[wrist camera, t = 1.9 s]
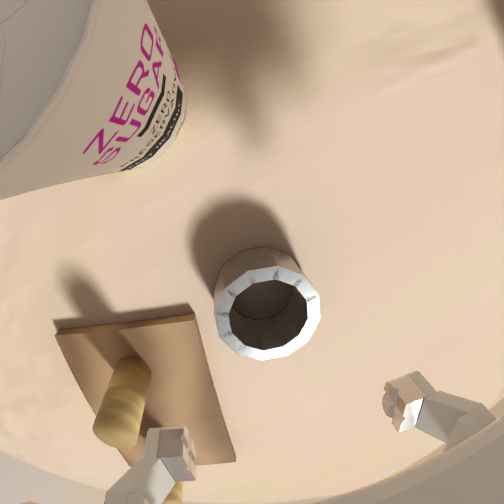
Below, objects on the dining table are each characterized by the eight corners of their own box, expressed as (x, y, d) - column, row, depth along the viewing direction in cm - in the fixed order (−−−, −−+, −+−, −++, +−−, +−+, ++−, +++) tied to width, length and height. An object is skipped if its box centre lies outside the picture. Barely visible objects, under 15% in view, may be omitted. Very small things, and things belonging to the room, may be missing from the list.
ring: (299, 240, 22) (316, 259, 18) (306, 319, 24) (321, 348, 20) (208, 255, 21) (206, 277, 18) (224, 334, 23) (226, 366, 20)
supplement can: (71, 71, 16) (-79, 4, 2) (184, 44, 17) (139, -113, 3) (79, 179, 19) (-93, 233, 5) (194, 159, 19) (134, 166, 5)
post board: (194, 313, 23) (187, 384, 15) (235, 454, 28) (242, 515, 21) (59, 329, 22) (16, 388, 14) (131, 460, 27) (121, 516, 20)
